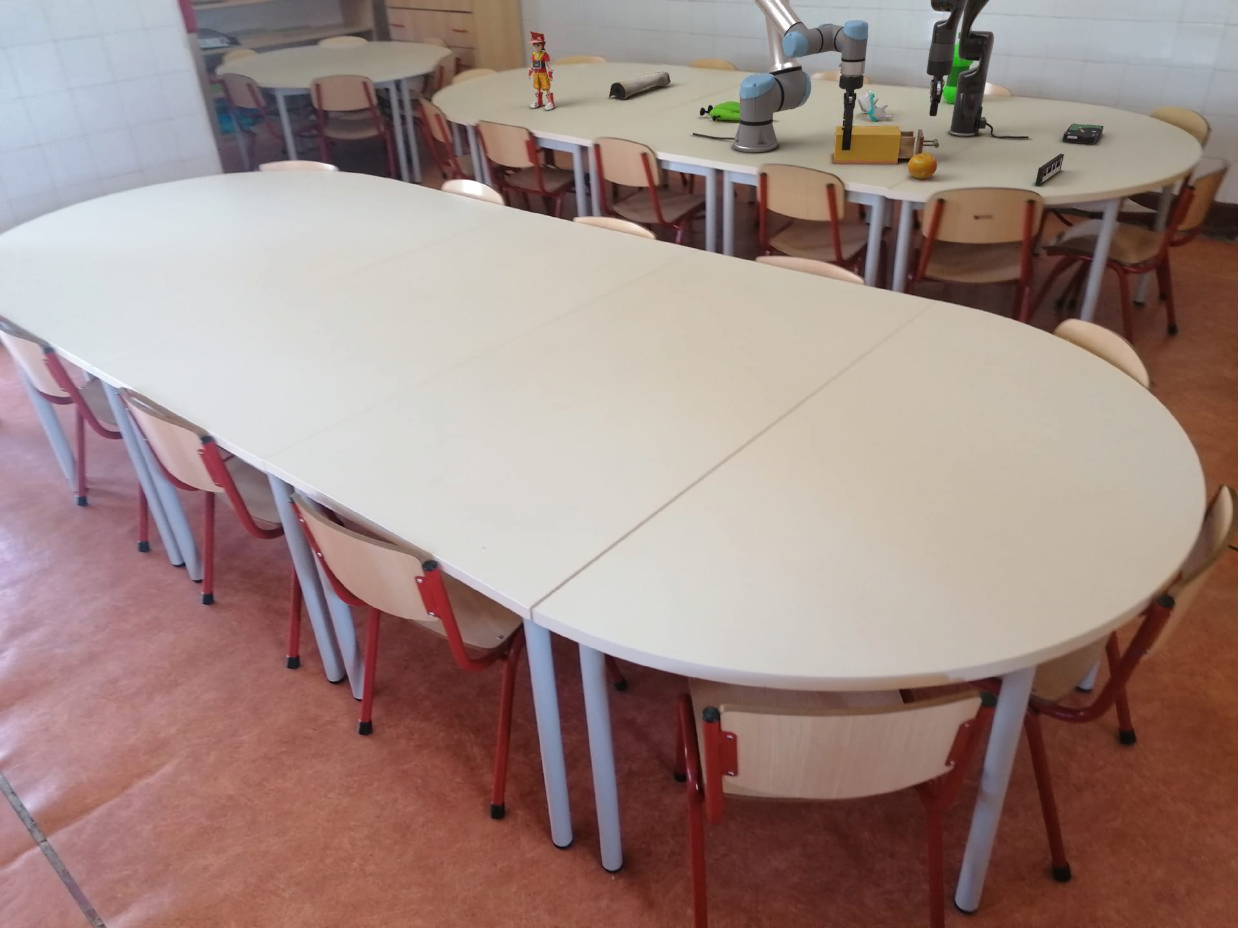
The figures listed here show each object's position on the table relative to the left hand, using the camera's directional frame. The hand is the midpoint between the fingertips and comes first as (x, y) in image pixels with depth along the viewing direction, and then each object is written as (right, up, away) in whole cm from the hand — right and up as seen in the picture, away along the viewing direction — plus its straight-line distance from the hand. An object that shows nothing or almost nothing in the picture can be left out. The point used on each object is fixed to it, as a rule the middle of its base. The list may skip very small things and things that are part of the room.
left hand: (845, 145), depth 299 cm
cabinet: (+7, -4, +1) cm, 8 cm away
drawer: (+17, -4, -1) cm, 18 cm away
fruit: (+19, -16, -18) cm, 31 cm away
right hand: (+26, +6, -10) cm, 28 cm away
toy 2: (-28, +29, +53) cm, 67 cm away
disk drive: (+83, +5, +8) cm, 83 cm away
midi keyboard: (+56, -19, -24) cm, 64 cm away
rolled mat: (-66, +58, +98) cm, 132 cm away
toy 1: (-108, +46, +84) cm, 145 cm away
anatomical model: (+21, +26, +44) cm, 56 cm away
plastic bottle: (+57, +37, +56) cm, 88 cm away
